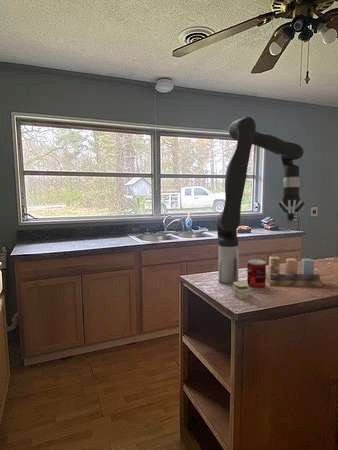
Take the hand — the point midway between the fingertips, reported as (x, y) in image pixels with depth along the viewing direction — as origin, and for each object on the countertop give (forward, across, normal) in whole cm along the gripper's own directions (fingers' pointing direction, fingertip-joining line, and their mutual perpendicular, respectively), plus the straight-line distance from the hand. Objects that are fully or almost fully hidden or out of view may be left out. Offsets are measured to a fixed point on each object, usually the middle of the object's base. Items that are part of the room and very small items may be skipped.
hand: (290, 220), depth 142 cm
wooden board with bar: (+27, -3, -14) cm, 31 cm away
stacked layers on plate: (+28, -28, -36) cm, 54 cm away
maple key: (+25, -10, -11) cm, 29 cm away
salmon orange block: (+25, -3, -15) cm, 29 cm away
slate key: (+25, +4, -14) cm, 29 cm away
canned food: (+27, -20, -22) cm, 40 cm away
